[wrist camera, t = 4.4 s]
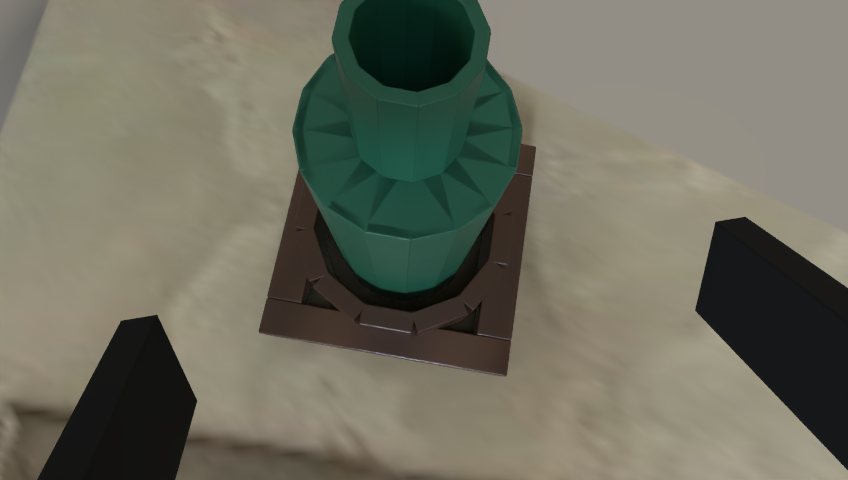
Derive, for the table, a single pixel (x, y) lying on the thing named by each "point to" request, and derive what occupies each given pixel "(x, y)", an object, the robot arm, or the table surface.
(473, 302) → the holder
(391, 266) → the bottle
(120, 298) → the table surface
